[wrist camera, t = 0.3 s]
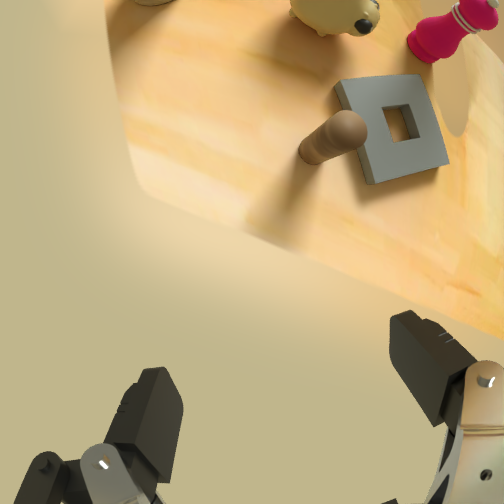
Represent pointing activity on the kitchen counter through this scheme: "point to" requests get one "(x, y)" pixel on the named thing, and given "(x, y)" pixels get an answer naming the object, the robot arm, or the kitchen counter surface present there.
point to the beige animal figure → (337, 15)
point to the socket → (379, 137)
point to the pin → (334, 138)
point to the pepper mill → (451, 29)
